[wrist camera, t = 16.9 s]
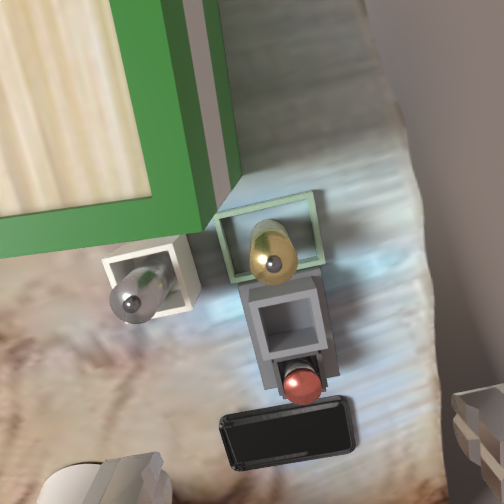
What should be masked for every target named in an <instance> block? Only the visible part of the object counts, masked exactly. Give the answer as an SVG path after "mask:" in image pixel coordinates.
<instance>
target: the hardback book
mask: <svg viewBox="0 0 504 504" xmlns="http://www.w3.org/2000/svg"><path fill="white" fill-rule="evenodd" d="M241 177H242V170H241V163H240V155H239V148H238V141H237V134H236V127H235V120H234V113H233V106H232V99H231V92H230V85H229V78H228V70H227V63H226V56H225V49H224V42H223V35H222V28H221V21H220V14H219V7H218V0H0V259H2V258H9V257H17V256H24V255H32V254H39V253H47V252H54V251H62V250H69V249H77V248H85V247H92V246H100V245H107V244H115V243H122V242H130V241H137V240H145V239H152V238H160V237H167V236H175V235H182V234H190V233H197V232H203V230H204V229H205V228H206V226H207V225H208V223H209V222H210V220H211V219H212V218H213V216H214V215H215V213H216V212H217V211H218V209H219V208H220V206H221V205H222V204H223V202H224V201H225V199H226V198H227V196H228V195H229V194H230V192H231V191H232V189H233V188H234V187H235V185H236V184H237V182H238V181H239V180H240V178H241Z"/></svg>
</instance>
